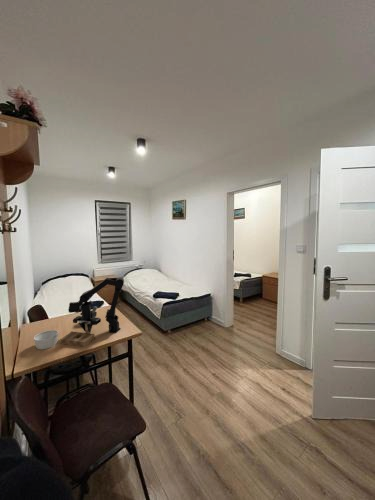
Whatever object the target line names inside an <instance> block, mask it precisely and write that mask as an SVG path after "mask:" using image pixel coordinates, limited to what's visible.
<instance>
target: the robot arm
mask: <svg viewBox="0 0 375 500" xmlns="http://www.w3.org/2000/svg"><path fill="white" fill-rule="evenodd" d="M107 285H109V286H113V287H114V292H113V297H112V300H111V304H110V308H108V309H107V311H106V312H105V313H106V314H105V321H106V322H107V323H108V331H107V332H108V333H114V334H115V333H118V332H119V331H121V327H120V322H119V316H118V315H117V314H116V312H117V311H116V308H117V304H118V300H119V297H120V293H121V290H122V289H123V287H124V285H125V279H124V278H123V277H121V276H120V277H106V278H105V279H103V280H102V281H101V282H98V284H96V285H95V286H94V287H92V288H91V289H88V290H86V291H85V292H83V293H82V294H81V295H80V297H79V300H78V301H75V302H74V301H73V302H72V301H71V302H69V305H68V309H67V310H68V313H70V314H71V313H79V312H81V313H80V315H77V316H75V317H74V318H73V319H72V323H73V324H77V323H78V324H77V325H78V326H80V327H81V329H82V330H83V331H84V332H85V323H86V322H89V324H87V327H88V331H89V332H90V333H91V331H92V328H93V326H97V325H98V324H99V323H101V321H102V320H101V317H97V314H98V313H97V311H95V312H92V310H91V305H93V304H94V301H92V300H91V298H92V297H93V296H94V295H95V294H96V293H99V291H100V290H102V289H104V288H105V287H106V286H107ZM93 316H95V318H94V319H91V318H93Z"/></svg>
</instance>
